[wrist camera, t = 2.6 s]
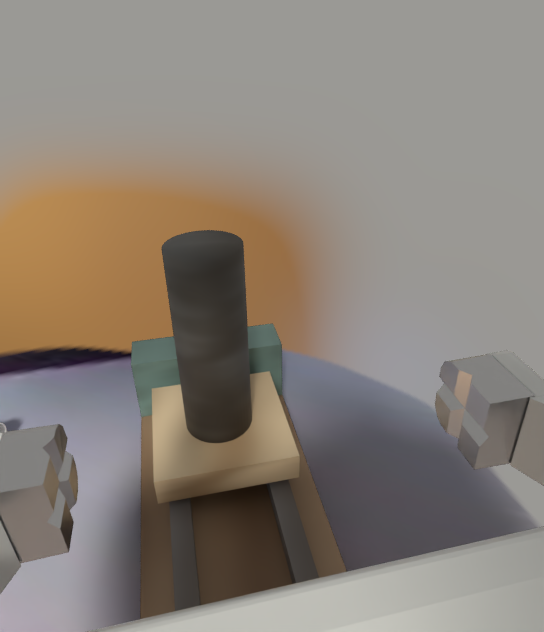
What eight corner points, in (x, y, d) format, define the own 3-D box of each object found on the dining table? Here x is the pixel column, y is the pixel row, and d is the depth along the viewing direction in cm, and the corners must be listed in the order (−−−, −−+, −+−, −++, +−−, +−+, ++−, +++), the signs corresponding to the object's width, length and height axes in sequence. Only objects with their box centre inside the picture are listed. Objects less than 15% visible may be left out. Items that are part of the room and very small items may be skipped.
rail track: (147, 1272, 11) (96, 1315, 8) (144, 409, 34) (132, 341, 31) (525, 1103, 12) (595, 1087, 9) (274, 389, 36) (272, 323, 33)
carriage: (157, 503, 24) (115, 291, 18) (155, 408, 30) (122, 224, 24) (299, 477, 25) (302, 270, 19) (270, 390, 31) (265, 211, 25)
